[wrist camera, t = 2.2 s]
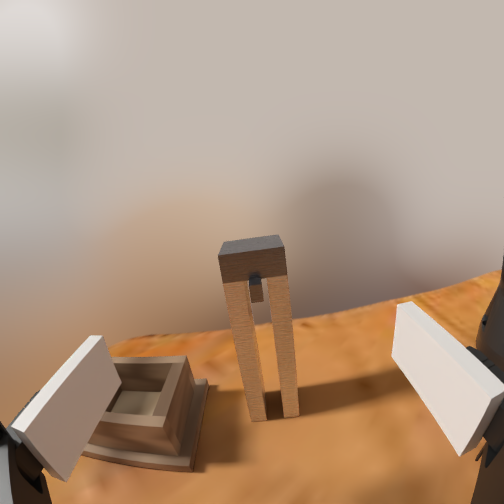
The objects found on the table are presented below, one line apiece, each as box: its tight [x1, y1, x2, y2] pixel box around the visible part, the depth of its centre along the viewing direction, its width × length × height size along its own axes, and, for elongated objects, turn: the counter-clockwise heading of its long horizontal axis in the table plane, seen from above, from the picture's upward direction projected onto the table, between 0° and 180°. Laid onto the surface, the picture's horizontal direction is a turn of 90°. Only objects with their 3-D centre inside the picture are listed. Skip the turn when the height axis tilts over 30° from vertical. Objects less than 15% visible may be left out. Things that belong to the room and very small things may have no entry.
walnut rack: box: [81, 356, 209, 472], centre depth 23 cm, size 12×12×5 cm
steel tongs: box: [218, 235, 299, 422], centre depth 22 cm, size 4×6×16 cm
